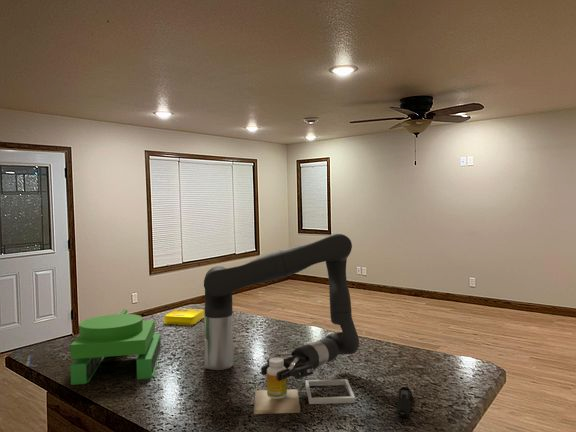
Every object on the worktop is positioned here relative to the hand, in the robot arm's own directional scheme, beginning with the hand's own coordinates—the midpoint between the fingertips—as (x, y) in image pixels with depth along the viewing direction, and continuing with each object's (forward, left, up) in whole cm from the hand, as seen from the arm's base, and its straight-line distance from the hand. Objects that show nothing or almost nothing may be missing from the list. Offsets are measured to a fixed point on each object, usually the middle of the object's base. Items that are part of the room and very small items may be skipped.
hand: (270, 374), depth 116 cm
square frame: (+17, +7, -9) cm, 20 cm away
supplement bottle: (+2, +2, -7) cm, 7 cm away
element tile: (-41, +90, -9) cm, 100 cm away
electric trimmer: (+36, -2, -9) cm, 37 cm away
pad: (+2, +2, -9) cm, 9 cm away
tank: (-52, +37, -9) cm, 64 cm away
